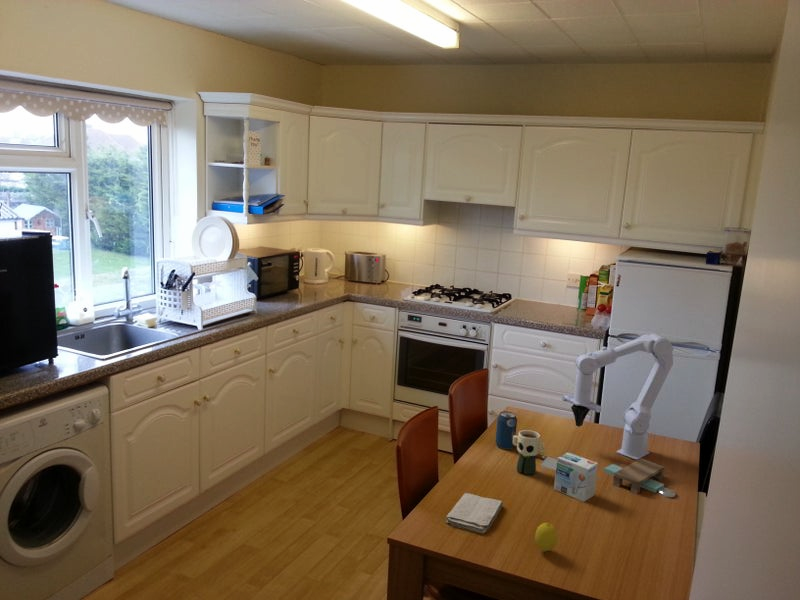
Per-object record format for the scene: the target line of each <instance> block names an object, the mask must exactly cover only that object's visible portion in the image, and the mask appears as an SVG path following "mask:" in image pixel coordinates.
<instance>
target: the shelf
mask: <svg viewBox="0 0 800 600" xmlns="http://www.w3.org/2000/svg"><path fill="white" fill-rule="evenodd" d="M622 468H623V469H621V470H619V471H617V472H615V473H614V476H613V480H612V485H613V486H616V487H618V488H619V487H622V486H623V481H625V480H626V481H625V482H628V483H630V482H631V483H630V484H631V486H630V493H633V494H636V495H638V494H639V493H640V491H641V488H642V487H641V483H643V482H644V481H646V480H647V479H649V478H650V479H652V478H654V479H656V478H657V480H662V479H663V477H664V470H665V466H663V465H661V464H658V463H655V462H652V461H650V460H647V459H645V458H643V457H642V458H640V459H638V460H635V461H633V462H632V463H630V464H628V465H626V466H625V467H622Z"/></svg>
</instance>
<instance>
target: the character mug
mask: <svg viewBox="0 0 800 600" xmlns="http://www.w3.org/2000/svg"><path fill="white" fill-rule="evenodd" d="M541 437H542V436H541V433H538V432H537V431H534V430H530V429H524V430H519V431H518V435H516V436H513V445H514V446H516V450H517V452H518V453H519V455H518V460H517V463H516V467H515V468H516V470H517V471H518V472H519V473H522V471H523V474H526V475H532V474H534V473H536V470H537V469H536V467H537V463H536V461H537V458H535V455H537V454H539V453H542V454H543V453H545V449H546V443H544V442H541ZM516 439H517V440H516ZM516 441H517V442H516ZM540 447H541V448H540Z"/></svg>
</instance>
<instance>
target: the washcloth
mask: <svg viewBox="0 0 800 600" xmlns="http://www.w3.org/2000/svg"><path fill="white" fill-rule="evenodd" d="M502 508H503V501H502V500H498V499H493V497H491V498H488V497H482V496H480V495H476V494H472V493H467V492H465V493H464V494H463V495H462V496H461V497H460V498H459V500H458V501H457V502H456V504H454V506H453V508H452V509H451V511H449V512H448V514H447V515H446V517H445V518H446V521H445V524H449V525H451V526H453V527H456V528H459V529H463V530H467V531H470V532H473V533H477V534H484V533H486V532H487V531H488V530H489V529H490V528H491V526H492V524H493V522H494V521H495V520H496V518H497V516H498V514H499V513H500V511H501V509H502Z"/></svg>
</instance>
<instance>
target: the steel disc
mask: <svg viewBox="0 0 800 600" xmlns="http://www.w3.org/2000/svg"><path fill="white" fill-rule="evenodd" d="M657 493H659V494H658V495H659V496H661V497H663V496H664V497H663V498H666V497H667V499H673V497H674V498H675V497H676V491H675V490H674V489H671V488H669V487H664V488H659V489H658V492H657Z"/></svg>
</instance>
